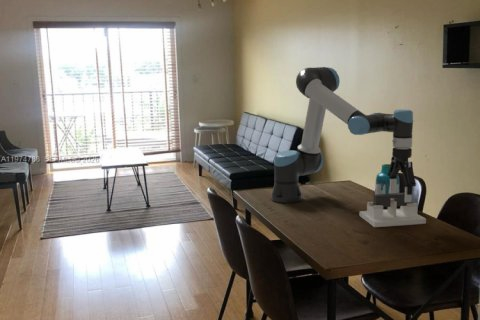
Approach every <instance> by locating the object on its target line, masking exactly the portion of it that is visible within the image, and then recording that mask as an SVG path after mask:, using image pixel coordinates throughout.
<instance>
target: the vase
mask: <svg viewBox="0 0 480 320" xmlns="http://www.w3.org/2000/svg"><path fill="white" fill-rule="evenodd" d="M390 164H391V163H384V164H381V171H380V172H378V173H377V174H376V176H375V184H374V185H375V186H374V187H375V188H374V190H375V191H374V192H375V193H374V195H375V194H390V178H389V176H388V171H389V167H390ZM395 179H397V189H396V193H400V175H399V174H398V175H397V178H395ZM391 199H393V200H394V198H391Z"/></svg>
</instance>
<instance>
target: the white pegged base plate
mask: <svg viewBox="0 0 480 320" xmlns="http://www.w3.org/2000/svg"><path fill="white" fill-rule="evenodd" d="M373 202H374V201H367V203H366V210H361V211H360V210H359V213H358V214H359V217H360V218H362V219H363V220H364V221H365V222H367V223H369V224H370V225H371V226H372V227H373V228H382V227H394V226H395V227H397V226H410V225H411V226H412V225H423V224H427V219H426V218H425V217H424V216H422V215H420V214H418V203H417V202H411V203H407V206H399V207H400V208H397V207H398V206H397V202H396V201H394V200H393V199H391V203H390V207H387V209H384V207H383V206H382V205H374V206H373Z"/></svg>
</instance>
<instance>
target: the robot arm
mask: <svg viewBox="0 0 480 320" xmlns="http://www.w3.org/2000/svg"><path fill="white" fill-rule="evenodd" d="M340 83H341V82H340V76H339V74H338V72H337V71H336V70H335V69H334V68H333V67H329V66H322V67H321V66H320V67H319V66H317V67H305V68H303V69H302V70H300V71H299V73H298V74H297V76H296V79H295V86H296V88H297V90H298V91H299V92H300V93H301V94H302V95H303V96H304V97H306V99H308V105H307V109H306V110H307V111H306V117H305V121H304V122H305V123H304V127H303V132H302V137H301V138H302V139H301V143H300V144H299V145H297V148H296V150H289V149H288V150H282V151H279V152H277V153H276V154H275V155H274V160H273V161H274V162H273V165H274V166H273V168H274V169H273V170H274V171H273V172H274V173H273V174H274V176H273V177H274V185H273V187H272V190H271V193H270V199H271V201H273V202H274V203H282V204H283V203H284V204H291V203H293V204H294V203H298V202H300V201H302V200H303V194H302V191H301V189H300V185H299V177H301V176H306V175H313V174H314V173H317V172H319V171H320V170H321V169H322V167H323V165H324V157H323V154H322V151H321V150H322V149H321V148H320V147H319V146H320V141H321V135H322V132H323V131H322V129H323V126H324V121H325V117H326V110H327V111H329V112H330V113H331V114H332V115H334V116H335V117H337V118H338V119H340V120H341V121H342V122H343V123H344V124H346V125H347V129H348V130H349V132H350V134H352V135H354V136H357V135H358V136H362V135H363V136H364V135H366V134H372V133H381V132H385V133H386V132H387V133H392V141H391V142H392V147H393V148H392V154H391V155H392V156H391V161H390V163H389V164H390V167H389V171H388V176H389V178H390V194H391V193H396V189H397V179H395V178H397V175H398V176H399V172H400V173H402V175H403V179H404V184H405V186H404V193H405V201H404V202H411V203H413V202H412V200H413V187H416V185H417V184H416V178H415V173H414V169H413V168H414V166H413V165H414V164H413V161H409V159H410V158H412V155H413V152H412V151H413V149H412V147H413V127H414V126H413V125H414V112H413V111H412V110H411V109H395V110H393V113H385V112H384V113H382V112H371V114H365V113H364V112H362V111H360V109H357V108H356V107H354V106H353V105H352V104H350V103H349V102H348V101H347V100H345V99H343V98H342V97H341V96H340V95H338V94H337V93H335V91H336V90H338V88H339V86H340Z"/></svg>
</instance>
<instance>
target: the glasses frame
mask: <svg viewBox="0 0 480 320" xmlns="http://www.w3.org/2000/svg"><path fill="white" fill-rule="evenodd" d="M391 198H394V201H396V202H397V207H400V206H407V203H412V202H404V201H405V192H399V193H391V194H375V193H374V194H373V201H372V202H373V206H374V205H382V206H383V208H388V207H390V203H391Z"/></svg>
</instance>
